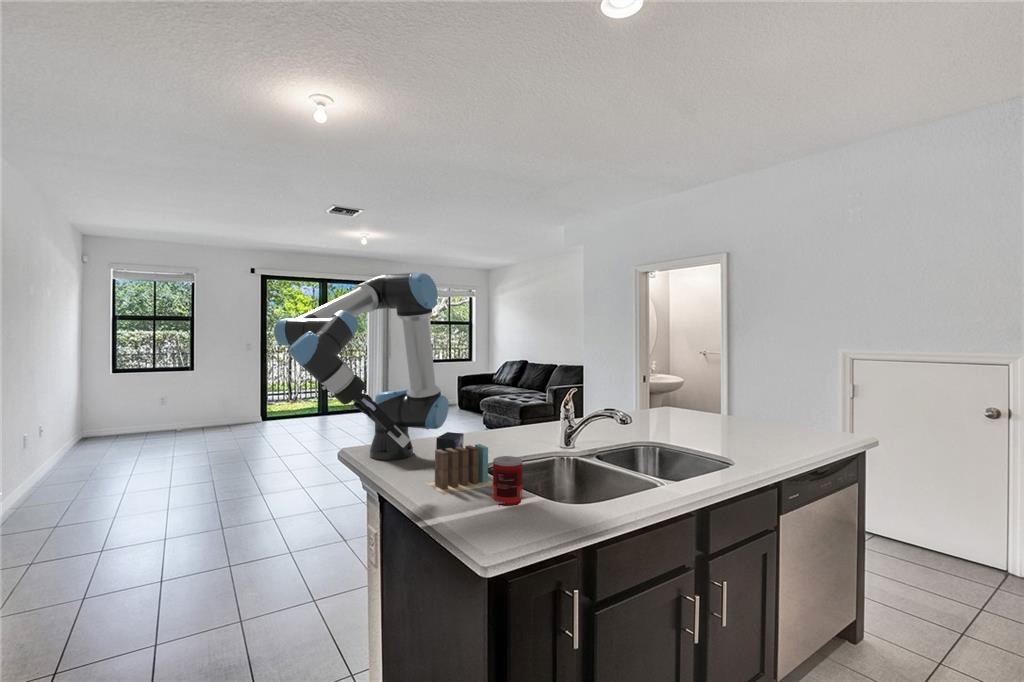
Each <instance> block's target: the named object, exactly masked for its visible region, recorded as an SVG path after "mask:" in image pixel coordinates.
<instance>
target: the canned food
mask: <svg viewBox="0 0 1024 682" xmlns="http://www.w3.org/2000/svg"><path fill="white" fill-rule="evenodd" d="M492 481H493V485H492V499H493V501H496V502H497V503H498V502H499V503H498V504H497V506H502V507H514V505H515V506H517V505H519V503H520V504H521V502H522V500H523V459H522V458H520V457H518V456H512V455H503V456H497V457H494V458H493V459H492Z"/></svg>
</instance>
